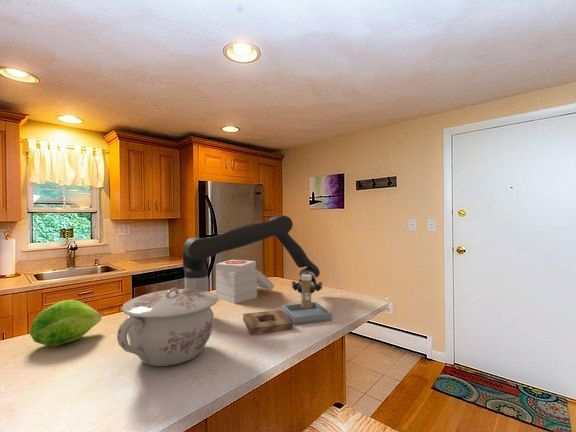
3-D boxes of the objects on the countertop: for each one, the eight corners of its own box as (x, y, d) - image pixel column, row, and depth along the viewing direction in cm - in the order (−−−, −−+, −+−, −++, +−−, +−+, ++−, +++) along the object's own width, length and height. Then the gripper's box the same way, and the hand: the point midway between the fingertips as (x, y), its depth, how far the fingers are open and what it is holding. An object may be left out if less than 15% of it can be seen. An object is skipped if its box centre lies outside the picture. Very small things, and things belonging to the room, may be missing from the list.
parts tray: (294, 325, 116) (294, 317, 116) (282, 312, 131) (282, 305, 131) (331, 320, 121) (331, 313, 121) (315, 308, 136) (315, 301, 136)
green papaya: (110, 336, 105) (109, 298, 105) (37, 359, 89) (37, 313, 89) (92, 326, 114) (92, 291, 114) (23, 345, 98) (23, 304, 98)
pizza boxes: (277, 292, 163) (277, 259, 163) (233, 305, 140) (233, 267, 140) (253, 286, 176) (253, 256, 175) (209, 297, 153) (209, 262, 153)
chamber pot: (208, 331, 110) (207, 275, 110) (228, 364, 86) (228, 293, 85) (121, 346, 97) (121, 283, 97) (116, 391, 73) (116, 307, 73)
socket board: (250, 335, 106) (250, 328, 106) (243, 319, 122) (243, 313, 122) (293, 329, 111) (293, 323, 111) (280, 315, 127) (280, 309, 127)
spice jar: (310, 308, 123) (310, 276, 123) (299, 307, 125) (299, 275, 124) (312, 305, 128) (312, 274, 127) (302, 304, 129) (302, 273, 129)
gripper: (292, 272, 141) (288, 281, 124) (323, 273, 139) (323, 282, 122) (292, 288, 141) (288, 299, 124) (323, 289, 139) (323, 300, 122)
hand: (305, 290), depth 123 cm, fingers closed on spice jar, 4 cm apart
